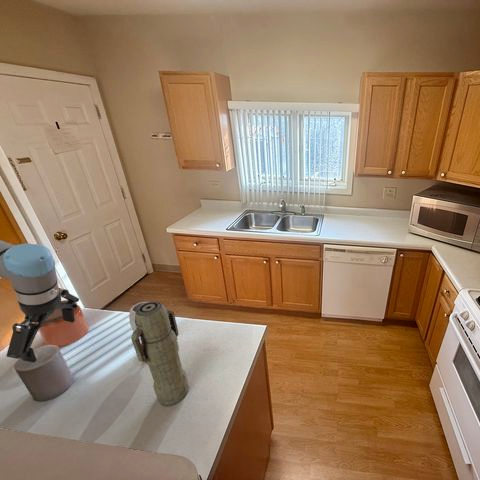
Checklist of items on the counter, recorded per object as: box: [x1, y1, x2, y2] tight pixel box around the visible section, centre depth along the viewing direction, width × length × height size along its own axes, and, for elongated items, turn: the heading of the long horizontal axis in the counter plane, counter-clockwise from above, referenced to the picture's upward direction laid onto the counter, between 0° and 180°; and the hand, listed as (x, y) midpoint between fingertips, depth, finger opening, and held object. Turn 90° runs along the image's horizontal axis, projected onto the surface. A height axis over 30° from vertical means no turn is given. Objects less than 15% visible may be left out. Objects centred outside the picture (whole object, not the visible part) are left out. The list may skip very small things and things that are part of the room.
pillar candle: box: [13, 345, 75, 403], centre depth 80 cm, size 10×10×15 cm
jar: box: [33, 299, 90, 348], centre depth 100 cm, size 13×13×13 cm
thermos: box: [130, 301, 190, 407], centre depth 75 cm, size 9×12×35 cm
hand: (51, 339), depth 77 cm, fingers open, 13 cm apart
